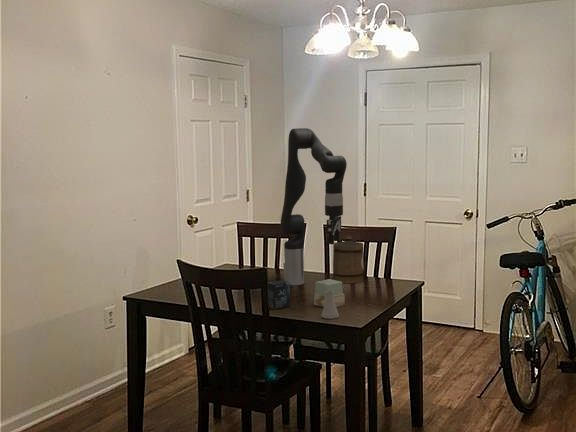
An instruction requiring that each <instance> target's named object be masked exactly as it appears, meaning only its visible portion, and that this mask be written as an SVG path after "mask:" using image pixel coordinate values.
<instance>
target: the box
mask: <svg viewBox="0 0 576 432" xmlns="http://www.w3.org/2000/svg"><path fill="white" fill-rule="evenodd" d="M268 297H269V307H271V308H270V309H272V308H273V309H272V310H274V309H275V310H279V309H283V308H290V307H291V285H290V282H287V281H284V279H281V280H274V281H268V282H267V298H268ZM269 307H268V308H269Z"/></svg>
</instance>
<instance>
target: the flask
mask: <svg viewBox="0 0 576 432" xmlns="http://www.w3.org/2000/svg"><path fill="white" fill-rule="evenodd" d="M333 293H334V292H333V291H326V302H325V306H324V307H323V308H322V312H321V315H320V317H321V318H322V319H329V320H331V319H339V317H340V315H339V312H338V307H336V306H335V303H334V298H333Z"/></svg>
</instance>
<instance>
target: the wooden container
mask: <svg viewBox="0 0 576 432" xmlns="http://www.w3.org/2000/svg"><path fill="white" fill-rule="evenodd" d="M352 239H353V237H352V236H351V235H346V236H345V237H344V241H335V242H334V244H332V245H333V246H332V247H333V250H332V253H333V254H332V255H333V257H332V280H336V281H340V282H342V284H358V283H362V282H363V281H364V271H365V270H364V243H363V242H360V241H359V242H358V241H352Z"/></svg>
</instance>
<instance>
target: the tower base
mask: <svg viewBox="0 0 576 432" xmlns="http://www.w3.org/2000/svg"><path fill="white" fill-rule="evenodd" d="M345 295H346V294H345V293H343V294H340V295H335V296H333V298H334V303H335V306H336V308H338V307H341V306H343V307H344V306H345V304H346V302H345V299H346V298H345ZM313 302H314V303H313V305H315V306H318V307H322V308H324V306H325V302H326V296H323V295H319V294H315V292H314V293H313Z"/></svg>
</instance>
